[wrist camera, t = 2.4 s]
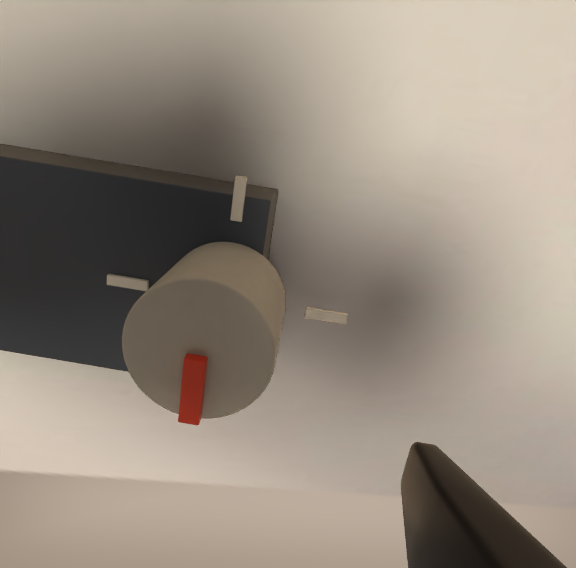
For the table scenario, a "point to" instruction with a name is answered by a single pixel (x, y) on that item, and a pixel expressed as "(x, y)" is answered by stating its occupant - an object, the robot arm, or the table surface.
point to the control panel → (106, 246)
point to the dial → (207, 332)
